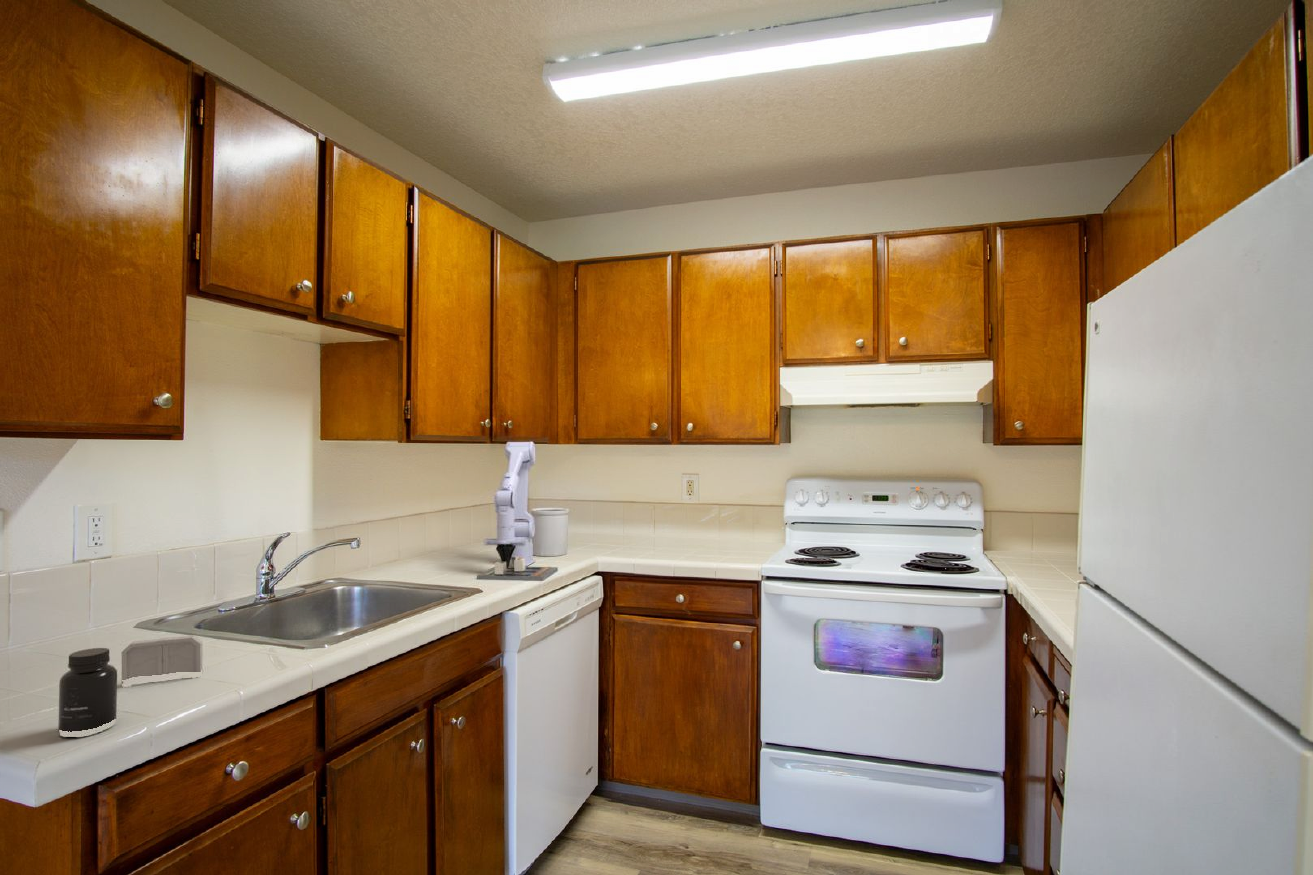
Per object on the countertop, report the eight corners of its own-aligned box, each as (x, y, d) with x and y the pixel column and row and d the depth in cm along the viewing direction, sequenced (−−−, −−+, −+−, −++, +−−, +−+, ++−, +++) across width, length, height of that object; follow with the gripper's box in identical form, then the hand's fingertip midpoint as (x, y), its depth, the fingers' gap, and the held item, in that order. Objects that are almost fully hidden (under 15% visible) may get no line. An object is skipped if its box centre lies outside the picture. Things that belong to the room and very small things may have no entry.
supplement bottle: (62, 744, 97) (61, 662, 97) (55, 730, 102) (55, 652, 102) (121, 728, 102) (121, 651, 102) (112, 716, 107) (112, 642, 107)
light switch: (124, 684, 121) (124, 642, 121) (202, 674, 126) (202, 633, 126) (121, 687, 120) (121, 644, 120) (200, 677, 124) (200, 636, 124)
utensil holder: (553, 549, 269) (553, 506, 270) (576, 553, 259) (576, 508, 259) (523, 553, 259) (523, 509, 259) (546, 558, 248) (546, 512, 249)
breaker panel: (496, 569, 228) (496, 554, 228) (557, 570, 224) (557, 555, 224) (476, 579, 212) (476, 563, 212) (542, 580, 209) (542, 564, 209)
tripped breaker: (517, 569, 220) (517, 557, 220) (525, 569, 219) (525, 557, 219) (514, 571, 217) (514, 559, 217) (522, 571, 216) (522, 559, 216)
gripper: (480, 527, 216) (480, 569, 216) (522, 528, 214) (522, 570, 214) (488, 524, 223) (488, 565, 223) (529, 525, 221) (530, 565, 221)
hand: (506, 567), depth 219 cm, fingers closed
